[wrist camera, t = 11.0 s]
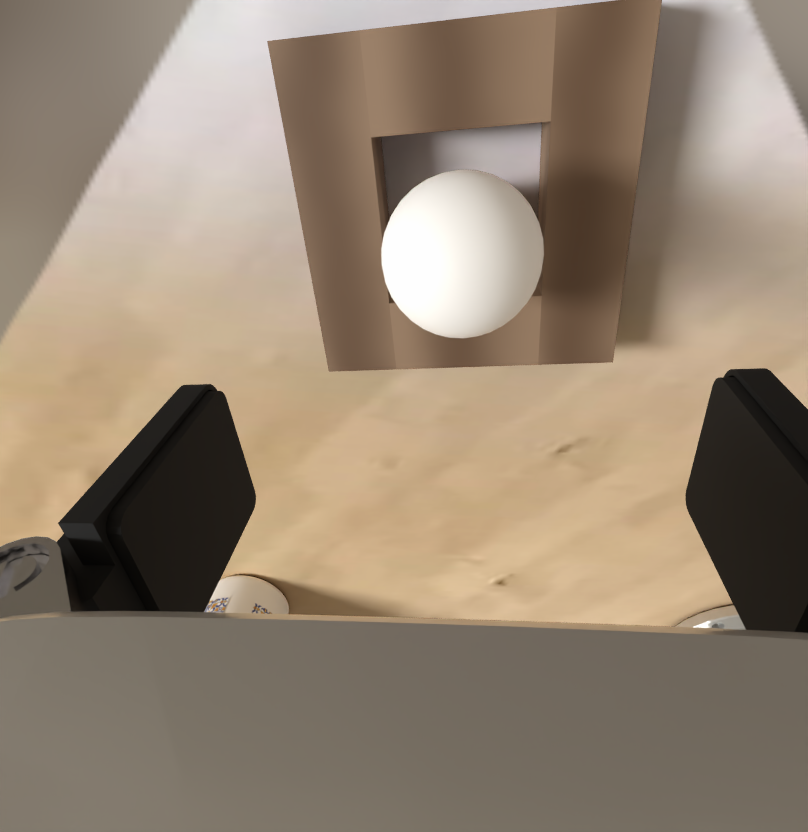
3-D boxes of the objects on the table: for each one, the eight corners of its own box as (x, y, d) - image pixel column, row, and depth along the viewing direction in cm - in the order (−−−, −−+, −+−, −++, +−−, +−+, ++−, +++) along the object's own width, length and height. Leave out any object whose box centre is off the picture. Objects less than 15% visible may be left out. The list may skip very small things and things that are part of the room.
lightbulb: (545, 166, 26) (588, 227, 17) (495, 283, 29) (508, 386, 20) (424, 121, 25) (401, 159, 16) (387, 246, 29) (351, 335, 20)
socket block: (640, 2, 22) (662, -5, 20) (600, 337, 30) (612, 362, 28) (288, 43, 24) (267, 41, 22) (339, 347, 32) (328, 371, 30)
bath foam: (210, 614, 48) (75, 905, 32) (212, 563, 44) (60, 865, 28) (286, 631, 49) (192, 929, 32) (295, 583, 45) (193, 892, 28)
